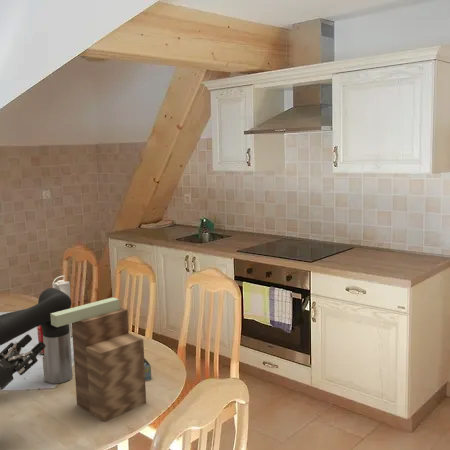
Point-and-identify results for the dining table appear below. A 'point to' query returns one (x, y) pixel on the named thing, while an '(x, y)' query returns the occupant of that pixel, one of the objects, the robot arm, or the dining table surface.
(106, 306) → the sage bar
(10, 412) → the dining table surface
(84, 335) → the display stand
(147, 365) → the beverage carton
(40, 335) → the soda can
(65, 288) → the white water bottle
